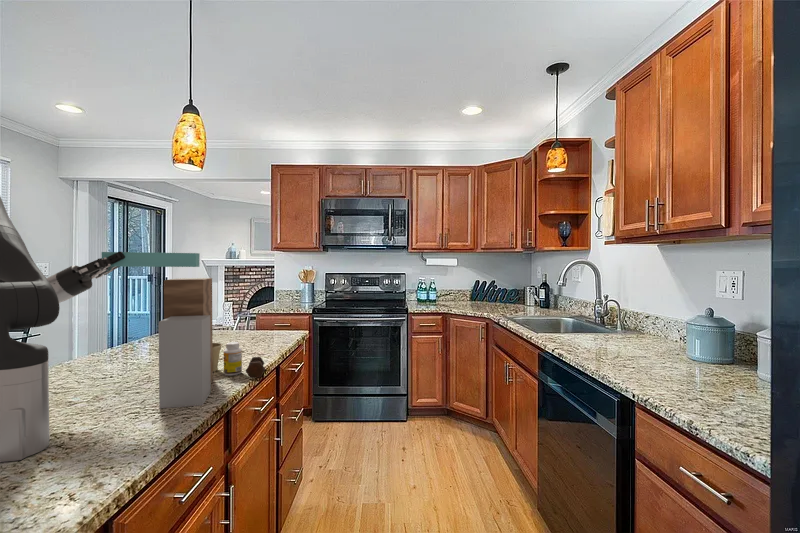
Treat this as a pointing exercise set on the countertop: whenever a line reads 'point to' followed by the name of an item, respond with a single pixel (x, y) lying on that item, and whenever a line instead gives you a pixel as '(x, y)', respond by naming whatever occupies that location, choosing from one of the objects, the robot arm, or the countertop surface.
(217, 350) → the flower pot
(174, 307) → the walnut stand
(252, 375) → the hex dumbbell
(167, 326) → the grey block
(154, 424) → the countertop surface
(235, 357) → the supplement bottle
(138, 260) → the teal bar
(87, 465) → the countertop surface
